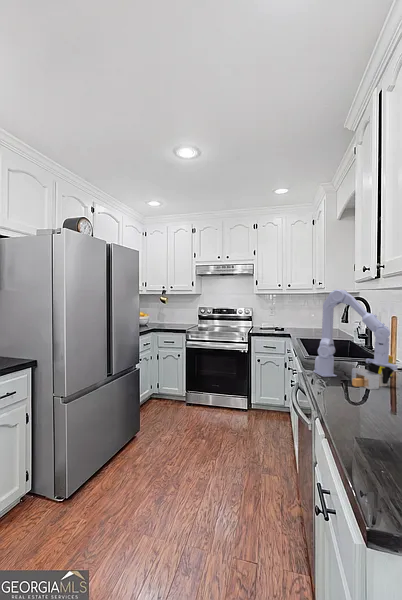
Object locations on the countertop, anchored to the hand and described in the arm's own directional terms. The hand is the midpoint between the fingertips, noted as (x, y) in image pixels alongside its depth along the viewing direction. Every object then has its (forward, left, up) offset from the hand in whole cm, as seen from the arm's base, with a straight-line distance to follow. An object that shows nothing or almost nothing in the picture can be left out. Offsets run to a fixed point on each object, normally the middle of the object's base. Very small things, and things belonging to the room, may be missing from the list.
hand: (380, 381), depth 142 cm
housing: (0, -8, -1) cm, 8 cm away
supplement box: (-14, +14, -2) cm, 20 cm away
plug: (0, -5, -1) cm, 5 cm away
